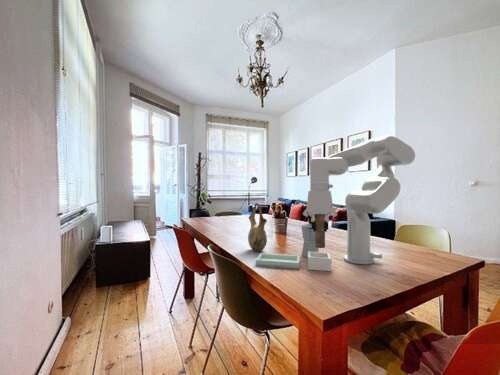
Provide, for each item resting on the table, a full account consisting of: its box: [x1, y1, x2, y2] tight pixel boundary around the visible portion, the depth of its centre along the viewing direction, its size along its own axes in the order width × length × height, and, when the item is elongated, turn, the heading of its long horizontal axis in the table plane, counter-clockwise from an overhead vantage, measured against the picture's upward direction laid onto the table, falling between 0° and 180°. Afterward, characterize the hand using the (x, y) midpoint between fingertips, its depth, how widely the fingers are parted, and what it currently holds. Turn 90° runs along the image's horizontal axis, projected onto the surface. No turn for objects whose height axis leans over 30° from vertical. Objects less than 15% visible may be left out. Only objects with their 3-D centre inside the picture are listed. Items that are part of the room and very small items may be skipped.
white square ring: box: [307, 251, 332, 272], centre depth 104 cm, size 9×9×5 cm
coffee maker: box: [301, 218, 320, 259], centre depth 121 cm, size 15×9×18 cm, turn 161°
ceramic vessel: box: [247, 202, 268, 253], centre depth 129 cm, size 16×9×25 cm, turn 27°
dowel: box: [314, 214, 326, 249], centre depth 104 cm, size 4×4×14 cm
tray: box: [255, 252, 301, 270], centre depth 108 cm, size 18×11×2 cm, turn 77°
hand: (319, 230), depth 104 cm, fingers closed on dowel, 4 cm apart
